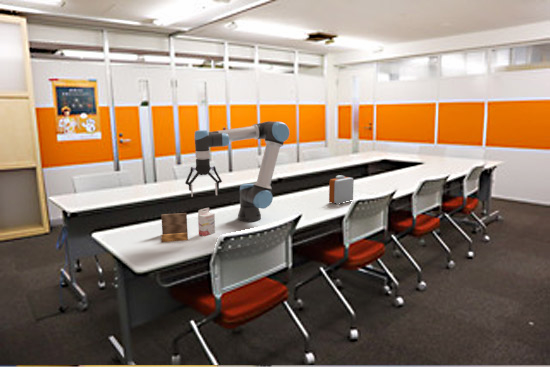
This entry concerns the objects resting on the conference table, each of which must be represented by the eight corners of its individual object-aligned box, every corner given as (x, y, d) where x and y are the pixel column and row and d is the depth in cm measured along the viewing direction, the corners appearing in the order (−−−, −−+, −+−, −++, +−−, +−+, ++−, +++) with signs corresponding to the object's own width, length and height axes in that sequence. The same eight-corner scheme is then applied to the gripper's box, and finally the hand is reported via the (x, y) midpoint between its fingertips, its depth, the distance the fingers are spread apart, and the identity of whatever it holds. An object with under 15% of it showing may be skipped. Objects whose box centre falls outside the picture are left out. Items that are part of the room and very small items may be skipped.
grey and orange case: (344, 199, 307) (345, 173, 303) (353, 201, 301) (354, 175, 297) (328, 203, 296) (329, 176, 292) (337, 205, 289) (338, 178, 285)
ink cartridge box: (204, 236, 222) (203, 211, 219) (198, 234, 225) (197, 210, 222) (215, 232, 228) (214, 208, 225) (209, 231, 231) (208, 207, 228)
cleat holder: (187, 232, 228) (186, 212, 226) (187, 240, 216) (186, 219, 213) (162, 234, 225) (161, 214, 223) (161, 242, 212) (160, 221, 210)
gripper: (224, 156, 224) (225, 192, 228) (179, 158, 219) (181, 195, 223) (225, 158, 217) (227, 195, 221) (179, 160, 212) (181, 198, 216)
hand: (204, 195), depth 222 cm, fingers open, 13 cm apart
